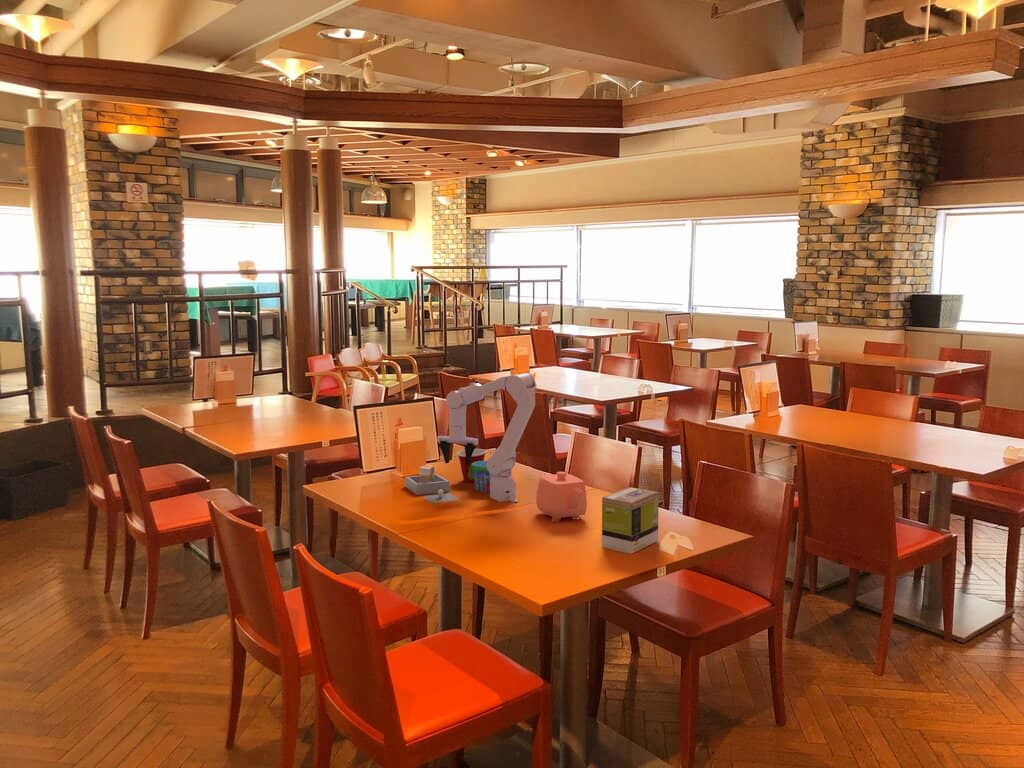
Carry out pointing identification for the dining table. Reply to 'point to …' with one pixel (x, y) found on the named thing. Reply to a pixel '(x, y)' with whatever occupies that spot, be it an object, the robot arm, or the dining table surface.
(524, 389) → the robot arm
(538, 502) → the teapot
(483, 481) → the snack cup
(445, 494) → the stud block
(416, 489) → the bin
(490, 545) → the dining table surface
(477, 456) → the plastic cup
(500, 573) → the dining table surface
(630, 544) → the tea box
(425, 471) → the strut
